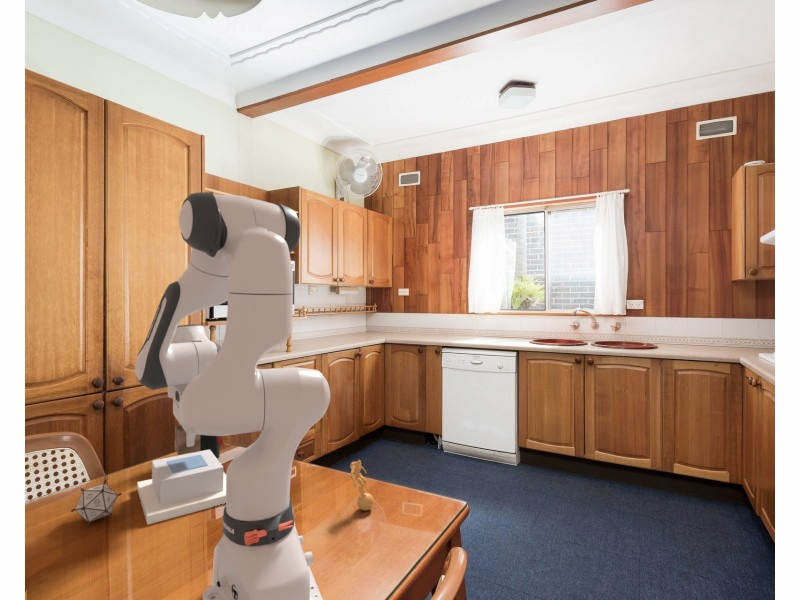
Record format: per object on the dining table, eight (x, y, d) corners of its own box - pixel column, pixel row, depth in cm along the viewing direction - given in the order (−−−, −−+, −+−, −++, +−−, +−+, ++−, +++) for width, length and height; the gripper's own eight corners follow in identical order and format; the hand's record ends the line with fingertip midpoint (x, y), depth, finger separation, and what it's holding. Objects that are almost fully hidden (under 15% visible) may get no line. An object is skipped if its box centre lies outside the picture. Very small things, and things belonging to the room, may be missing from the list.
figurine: (368, 519, 101) (369, 469, 101) (343, 516, 102) (344, 466, 102) (377, 502, 109) (378, 455, 109) (355, 499, 111) (356, 452, 110)
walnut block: (200, 450, 110) (200, 427, 110) (178, 455, 107) (178, 431, 107) (195, 444, 114) (196, 422, 114) (174, 448, 111) (174, 425, 111)
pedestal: (238, 499, 109) (239, 467, 109) (147, 524, 97) (147, 488, 97) (218, 471, 125) (218, 443, 125) (137, 489, 113) (137, 458, 113)
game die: (99, 530, 101) (116, 484, 107) (117, 528, 97) (134, 480, 102) (56, 525, 95) (77, 477, 101) (73, 522, 91) (94, 472, 96)
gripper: (166, 381, 116) (166, 432, 117) (181, 398, 100) (181, 457, 101) (192, 378, 120) (192, 427, 121) (210, 395, 104) (210, 452, 104)
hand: (187, 441), depth 111 cm, fingers closed on walnut block, 5 cm apart
